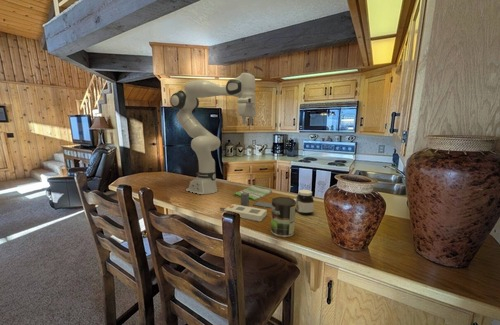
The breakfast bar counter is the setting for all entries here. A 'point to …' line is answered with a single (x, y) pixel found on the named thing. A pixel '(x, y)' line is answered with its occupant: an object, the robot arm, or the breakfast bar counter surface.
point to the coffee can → (283, 216)
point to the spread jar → (304, 202)
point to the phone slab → (263, 204)
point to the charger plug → (245, 199)
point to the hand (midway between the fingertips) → (247, 124)
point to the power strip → (247, 212)
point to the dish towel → (254, 192)
